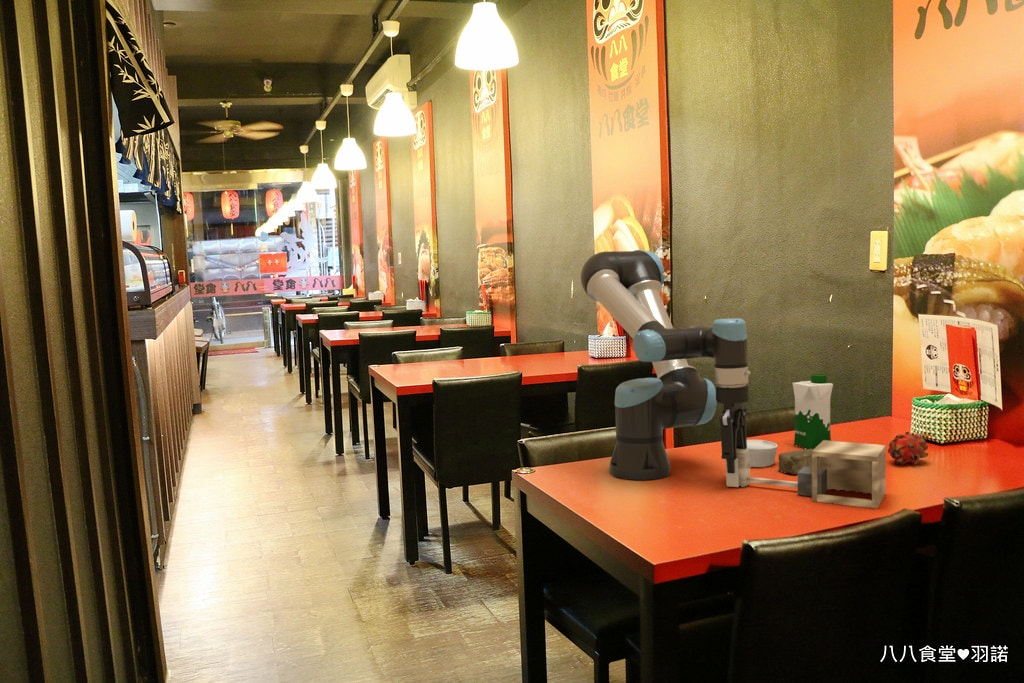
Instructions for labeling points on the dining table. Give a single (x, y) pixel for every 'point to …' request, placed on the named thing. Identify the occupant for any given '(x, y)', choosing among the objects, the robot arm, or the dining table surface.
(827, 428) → the milk carton
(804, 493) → the tethered block
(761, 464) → the ramekin
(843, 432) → the dining table surface
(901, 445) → the dragon fruit
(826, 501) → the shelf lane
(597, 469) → the dining table surface
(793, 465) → the stone block
